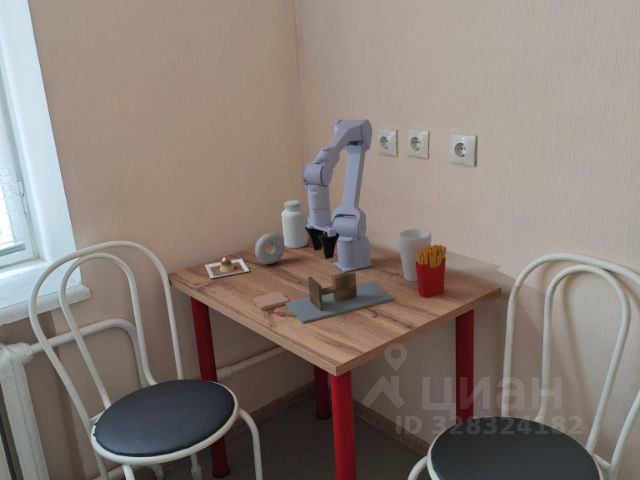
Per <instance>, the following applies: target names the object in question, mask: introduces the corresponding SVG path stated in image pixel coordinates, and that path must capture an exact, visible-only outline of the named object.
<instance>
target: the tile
mask: <svg viewBox="0 0 640 480" xmlns="http://www.w3.org/2000/svg"><path fill="white" fill-rule="evenodd" d="M252 301H253V303H254V304H255V306H257V309H259V310H260V311H265V310H269V309H273V308H276V307H282V306H286V305H285V302H289V301H290V300H289V299H288V298H287V297H286V296H285V294H283V293H282V292H281V291H277V292H272V293H268V294H264V295H260V296H259V295H258V296H255V297H252Z"/></svg>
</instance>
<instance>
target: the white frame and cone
mask: <svg viewBox="0 0 640 480" xmlns="http://www.w3.org/2000/svg"><path fill="white" fill-rule="evenodd" d="M235 263H239V264H240V266H241V267H242V269H243V271H238V272H233V271H234V270H235V267H234V265H233V264H235ZM204 266H205V268H206V271H207V273H208V275H209V277H210V278H211V279H217V278H222V277H228V276H233V275H238V274H244V273H248V272H250V269H249V268H248V265H247V264H246V263H245V262H244V260H243V258H236V259H232V260H231V259H229V258H228V257H226V256H224V257H223V258H222V259H221V261H220V262H213V263H207V264H204ZM218 266H220V267H219V272H221V273H228V274H222V275H218V276H215V275H214V273H213V271H212V269H211V268H214V267H218ZM229 272H232V273H229Z"/></svg>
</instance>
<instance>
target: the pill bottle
mask: <svg viewBox="0 0 640 480" xmlns="http://www.w3.org/2000/svg"><path fill="white" fill-rule="evenodd" d="M283 205H284V206H283V207H284V210H283V211H282V212H281V223H282V233H283V242H284V247H285V248H289V249H299V248H303V247H305V246H307V245H308V232H307V231H306V229H305V227H306V226H307V221H306V219H307V218H306V212H305V210H304V209H303V208H301V202H300V200H297V199H296V200H295V199H293V200H292V199H291V200H287V201H285V202H284V203H283Z"/></svg>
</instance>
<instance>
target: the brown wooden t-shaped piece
mask: <svg viewBox="0 0 640 480" xmlns="http://www.w3.org/2000/svg"><path fill="white" fill-rule="evenodd" d="M356 276H357V275H356V272H354V270H352V271H347V272H342V273H338V274H333V275H331V279H332V280H331V283H332V286H328V287H323V288H322V285H321V284H320V283H319V282H318V281H316V280H315V278H313V277H312V276H308V277H307V280H308V281H307V282H308V292H309V297H310V302H311V303H312V304H313V305H314V306H316V307H317V308H318V309H319V310H320V311H323V301H322V295H326V294H331V293H333V298H334V301H336V302H341V301H345V300H349V299H353V298H357V288H356V285H357V277H356Z"/></svg>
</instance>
